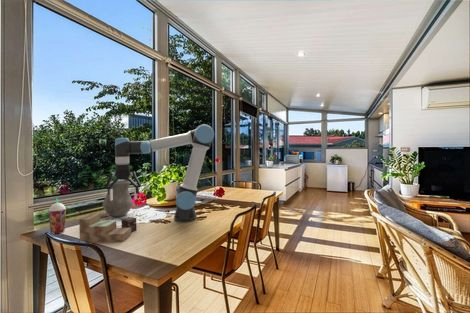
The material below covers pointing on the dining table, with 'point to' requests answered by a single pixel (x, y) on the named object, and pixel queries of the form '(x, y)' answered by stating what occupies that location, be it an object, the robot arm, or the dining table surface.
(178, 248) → the dining table surface
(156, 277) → the dining table surface
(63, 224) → the smoothie
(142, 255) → the dining table surface
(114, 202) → the vase
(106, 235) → the stepped block
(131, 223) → the box
